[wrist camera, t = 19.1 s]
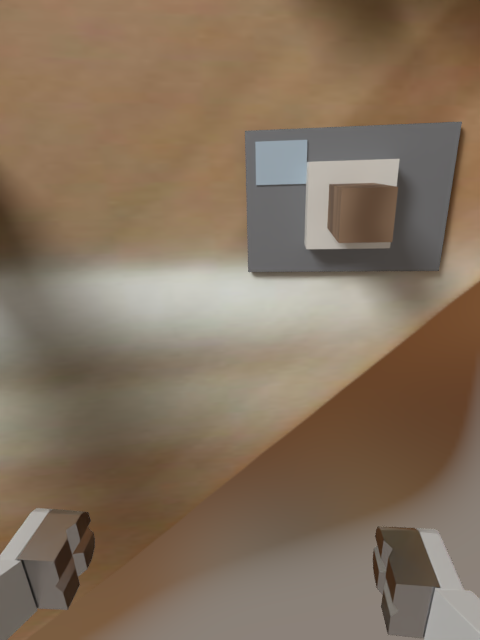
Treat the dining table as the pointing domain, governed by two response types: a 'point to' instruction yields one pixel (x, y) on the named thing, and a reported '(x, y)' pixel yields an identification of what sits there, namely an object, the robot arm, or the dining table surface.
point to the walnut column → (362, 212)
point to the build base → (410, 206)
